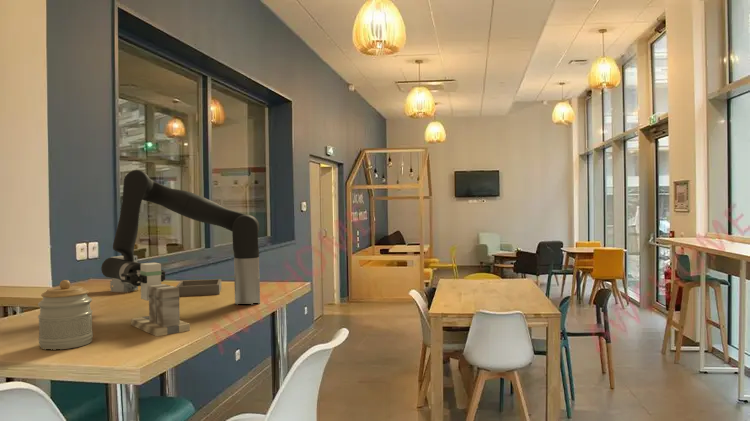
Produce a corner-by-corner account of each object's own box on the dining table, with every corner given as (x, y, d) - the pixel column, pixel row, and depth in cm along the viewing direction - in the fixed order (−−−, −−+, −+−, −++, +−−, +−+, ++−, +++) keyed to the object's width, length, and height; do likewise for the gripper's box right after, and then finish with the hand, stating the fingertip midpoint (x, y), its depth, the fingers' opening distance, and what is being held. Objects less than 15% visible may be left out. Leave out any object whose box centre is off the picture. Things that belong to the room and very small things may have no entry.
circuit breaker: (139, 292, 236) (139, 257, 236) (110, 291, 239) (109, 257, 239) (150, 289, 244) (149, 255, 243) (121, 289, 247) (120, 255, 246)
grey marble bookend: (131, 325, 174) (130, 283, 174) (162, 320, 181) (161, 280, 180) (156, 336, 159) (155, 291, 159) (189, 330, 166) (188, 287, 165)
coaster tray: (221, 288, 246) (221, 279, 245) (219, 294, 229) (219, 284, 229) (181, 289, 242) (180, 280, 242) (176, 296, 225) (175, 286, 225)
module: (140, 298, 174) (140, 263, 174) (155, 296, 177) (154, 262, 177) (146, 300, 170) (146, 265, 170) (161, 298, 173) (161, 263, 173)
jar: (35, 353, 143) (33, 285, 142) (42, 341, 155) (41, 278, 154) (91, 347, 148) (89, 281, 148) (94, 336, 160) (93, 275, 159)
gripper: (111, 264, 179) (130, 269, 167) (156, 260, 189) (176, 265, 176) (112, 287, 179) (130, 293, 167) (156, 282, 189) (177, 288, 177)
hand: (154, 279), depth 172 cm, fingers closed on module, 4 cm apart
